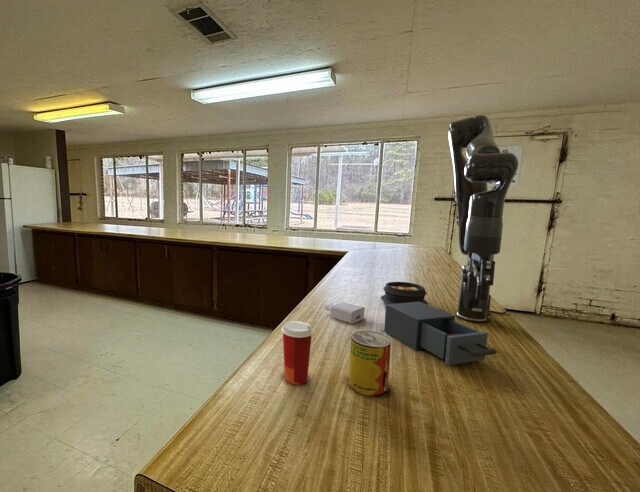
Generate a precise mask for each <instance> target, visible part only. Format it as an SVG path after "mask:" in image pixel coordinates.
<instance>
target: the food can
mask: <svg viewBox="0 0 640 492" xmlns="http://www.w3.org/2000/svg"><path fill="white" fill-rule="evenodd" d="M349 348H350V350H349V366H348V385H349V387H350V388H351V389H352V390H354V391H355V392H357V393H359V394H362V395H365V396H369V397H380V396H384V395H386V394H387V393H388V390H389V377H390V361H391V349H392V340H391V338H390V337H388V336H386V335H385V334H382V333H379V332H376V331H370V330H358V331H354V332H352V333H351V335H350V347H349Z"/></svg>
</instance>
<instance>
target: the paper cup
mask: <svg viewBox="0 0 640 492" xmlns="http://www.w3.org/2000/svg"><path fill="white" fill-rule="evenodd" d="M280 331H281V332H282V341H283V342H282V344H283V347H282V348H283V365H284V366H283V369H284V379H285V381H286V382H287V383H289V384H292V385H297V386H298V385H299V386H300V385H304V384H306V383H307V382H308V376H309V365H310V357H311V355H310V354H311V348H312V347H311V346H312V335H313V334H314V330H313V329H312V325H310V323H307V322H305V321H300V320H291V321H287V322H285V323H284V324H283V325H282V327H281V328H280Z"/></svg>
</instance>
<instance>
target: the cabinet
mask: <svg viewBox="0 0 640 492" xmlns="http://www.w3.org/2000/svg"><path fill="white" fill-rule="evenodd" d="M384 312H385V314H384V327H383V328H384V329H383V330H384V332H385V333H386V334H388V335H390V336H391V337H393V338H395V339H396V340H398V341H400V342H402V343H403V344H405V345H406V346H408V347H410V348H411V349H413V350H414V351H419V350H420V351H421V350H425V349H424V348H423V347H421V346H419V345H418V342H419V330H420V322H425V321H434V320H444V319H451V320H453V321H455V320H456V315H455V314H451V313H449V312H447V311H444V310H441V309H439V308H437V307H434V306H431V305H429V304H428V305H427V304H424V303H422V302H409V303H397V304H386V305H385V311H384Z"/></svg>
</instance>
